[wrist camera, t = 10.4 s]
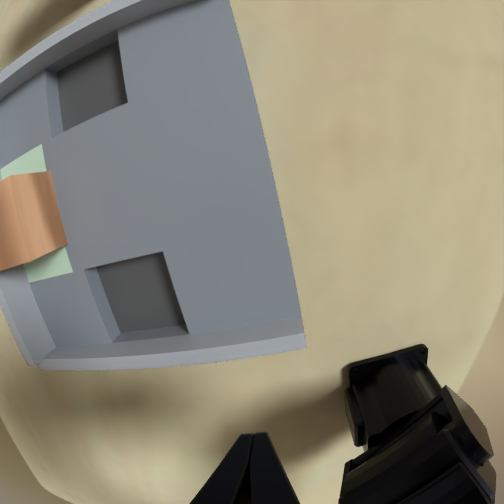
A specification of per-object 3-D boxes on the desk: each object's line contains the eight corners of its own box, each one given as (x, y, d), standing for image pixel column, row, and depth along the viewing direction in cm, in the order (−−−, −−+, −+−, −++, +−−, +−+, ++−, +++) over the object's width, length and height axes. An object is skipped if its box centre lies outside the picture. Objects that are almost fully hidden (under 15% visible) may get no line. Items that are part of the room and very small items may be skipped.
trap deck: (227, -4, 15) (215, -46, 10) (301, 315, 20) (308, 357, 15) (2, 102, 17) (-39, 98, 12) (64, 345, 22) (34, 376, 18)
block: (50, 171, 16) (9, 175, 13) (68, 243, 18) (30, 261, 14) (7, 193, 17) (-31, 201, 13) (23, 257, 18) (-12, 274, 14)
